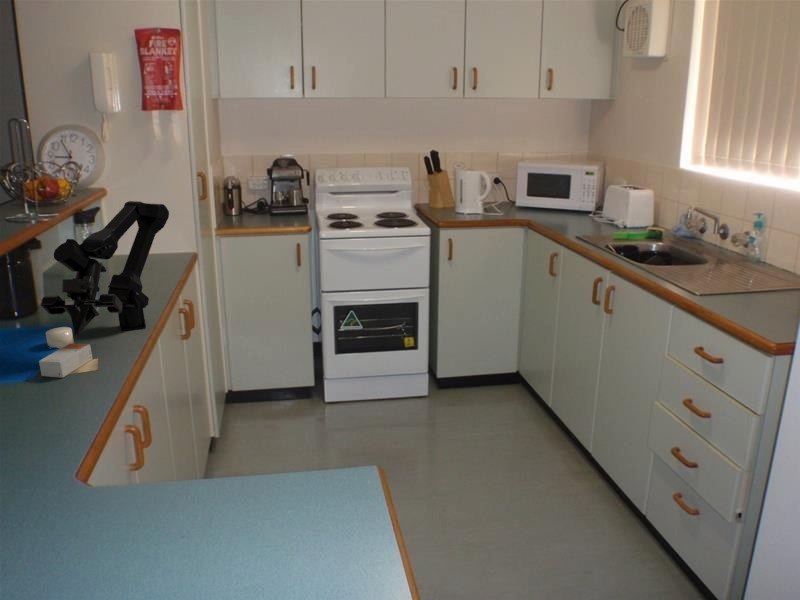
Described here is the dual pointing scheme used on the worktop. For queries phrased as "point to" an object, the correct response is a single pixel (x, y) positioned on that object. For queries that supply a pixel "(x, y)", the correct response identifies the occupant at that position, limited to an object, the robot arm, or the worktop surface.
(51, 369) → the skincare box
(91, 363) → the smooth tan tapered shape
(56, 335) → the beige rounded piece
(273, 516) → the worktop surface
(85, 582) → the worktop surface
